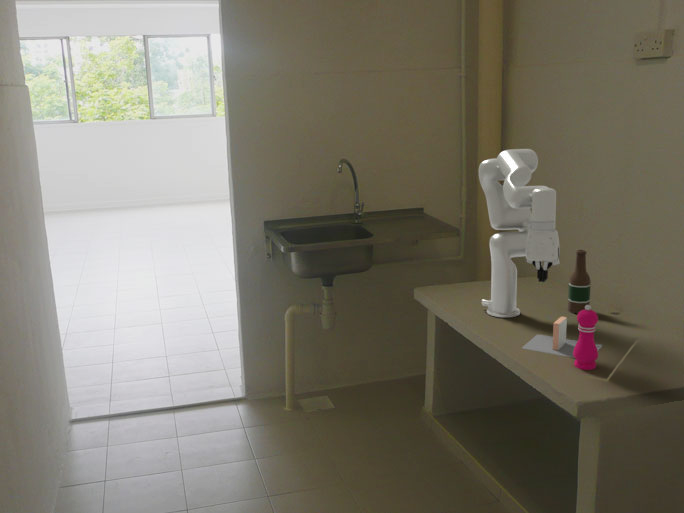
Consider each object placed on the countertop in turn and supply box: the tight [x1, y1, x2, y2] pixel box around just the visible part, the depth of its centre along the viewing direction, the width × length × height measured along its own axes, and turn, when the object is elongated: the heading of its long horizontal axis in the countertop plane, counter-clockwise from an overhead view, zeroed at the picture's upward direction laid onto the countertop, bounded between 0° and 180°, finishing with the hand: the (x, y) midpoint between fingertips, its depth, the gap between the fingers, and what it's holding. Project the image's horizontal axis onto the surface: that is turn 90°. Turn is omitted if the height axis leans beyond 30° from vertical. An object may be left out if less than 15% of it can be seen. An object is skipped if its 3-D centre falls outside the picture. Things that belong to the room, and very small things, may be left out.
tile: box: [552, 316, 568, 350], centre depth 227 cm, size 2×8×9 cm, turn 146°
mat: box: [521, 333, 604, 359], centre depth 228 cm, size 22×16×1 cm
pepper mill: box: [573, 304, 599, 371], centre depth 209 cm, size 7×7×20 cm
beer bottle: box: [567, 249, 591, 315], centre depth 264 cm, size 8×8×24 cm
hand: (542, 281), depth 228 cm, fingers closed
